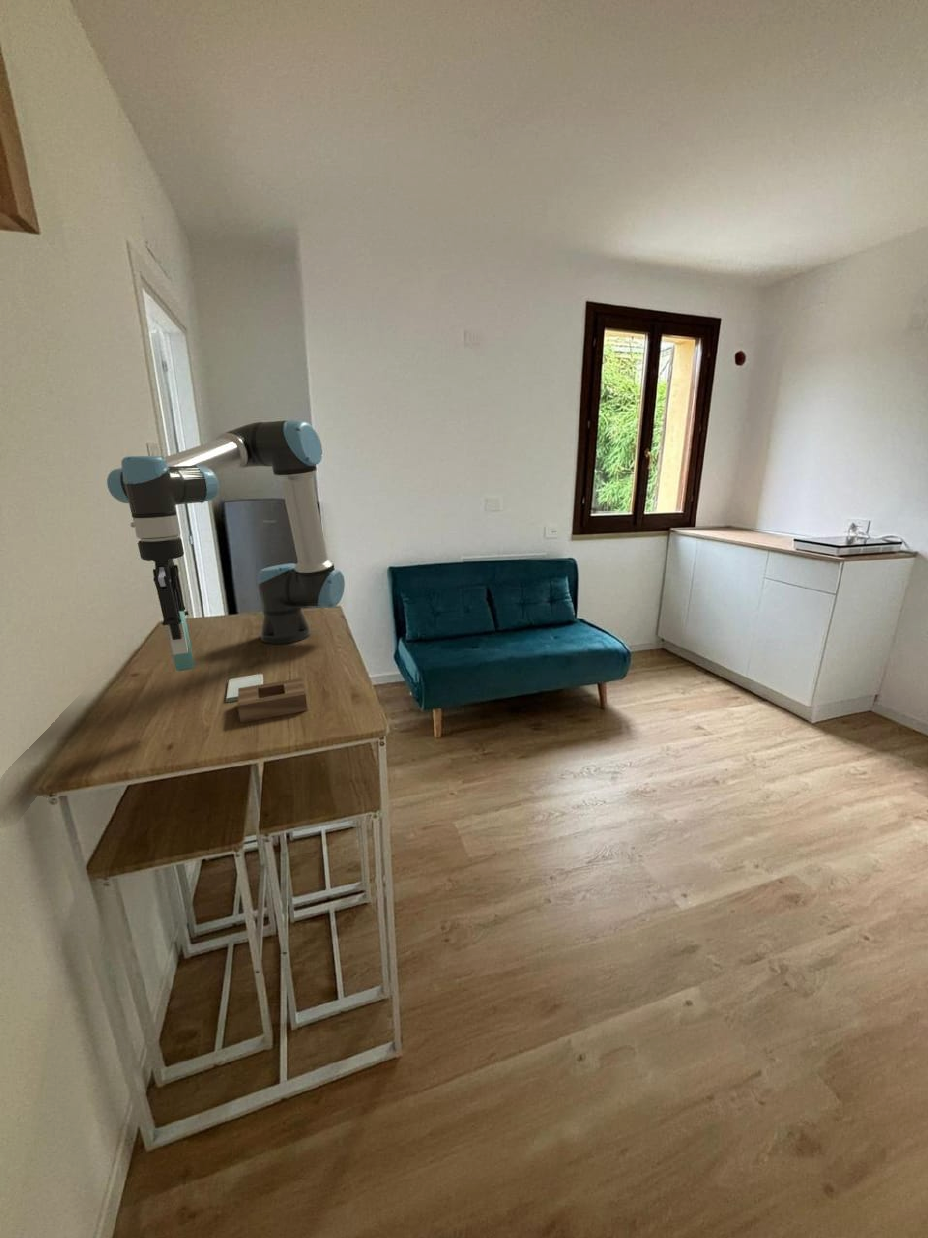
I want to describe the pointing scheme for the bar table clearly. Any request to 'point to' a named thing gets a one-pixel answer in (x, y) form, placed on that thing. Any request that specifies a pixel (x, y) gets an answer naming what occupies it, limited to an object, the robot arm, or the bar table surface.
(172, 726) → the bar table surface
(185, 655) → the peg
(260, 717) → the socket block
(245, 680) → the hard drive
